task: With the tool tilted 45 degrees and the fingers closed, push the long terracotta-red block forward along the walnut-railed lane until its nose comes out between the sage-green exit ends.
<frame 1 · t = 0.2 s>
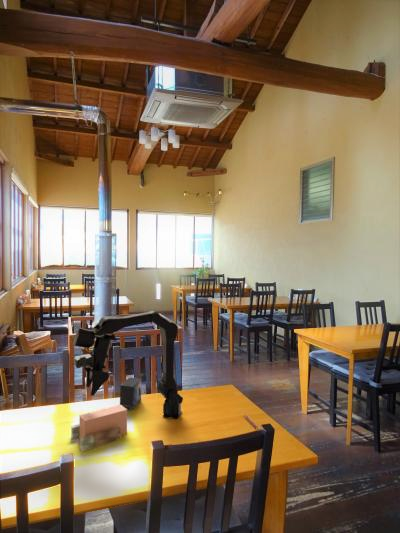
hand: (89, 391, 137), 16 cm above the table, tool pointing down, fingers open, 9 cm apart
lane: (95, 438, 133), on the table
small box: (130, 405, 163), on the table
chocolate bar: (251, 424, 147), on the table
block: (103, 436, 135), on the table
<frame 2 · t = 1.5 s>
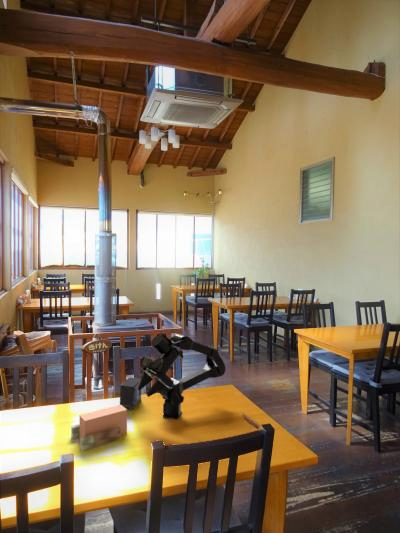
hand: (142, 392, 144), 13 cm above the table, tool tilted 45°, fingers open, 7 cm apart
nothing on the table moved.
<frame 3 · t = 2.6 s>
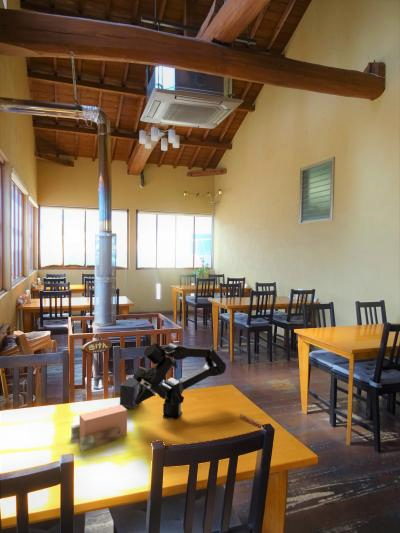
hand: (135, 403, 142), 9 cm above the table, tool tilted 45°, fingers closed
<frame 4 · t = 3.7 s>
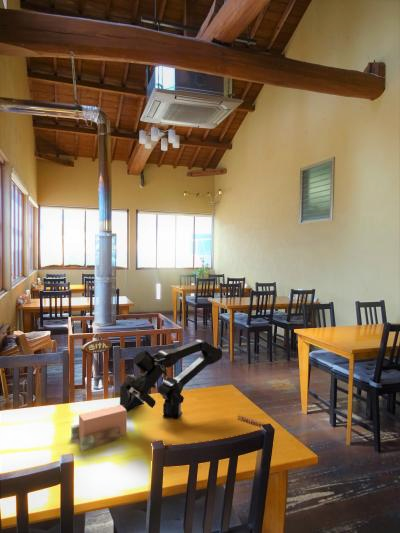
hand: (124, 412, 140), 7 cm above the table, tool tilted 45°, fingers closed, pressing on block
block: (103, 436, 135), on the table, touching gripper
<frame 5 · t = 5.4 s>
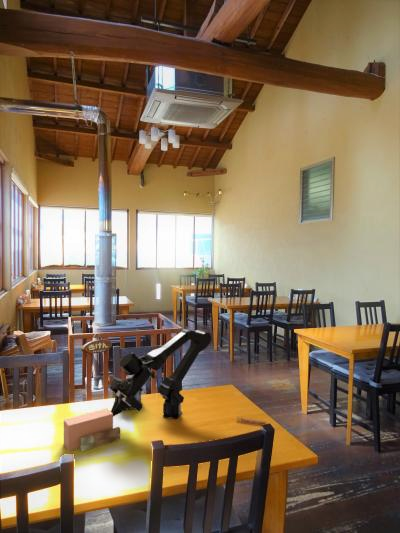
hand: (110, 416, 136), 7 cm above the table, tool tilted 45°, fingers closed
block: (88, 441, 132), on the table
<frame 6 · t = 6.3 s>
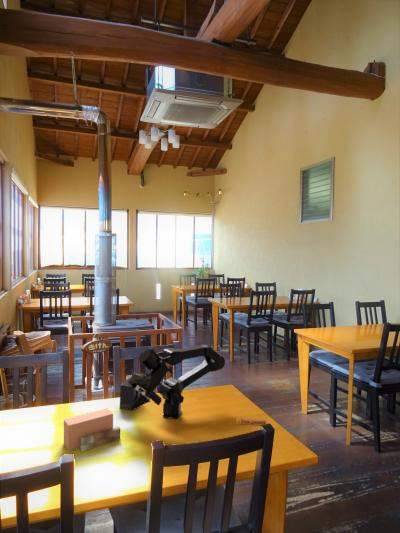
hand: (130, 410, 141), 7 cm above the table, tool tilted 45°, fingers closed
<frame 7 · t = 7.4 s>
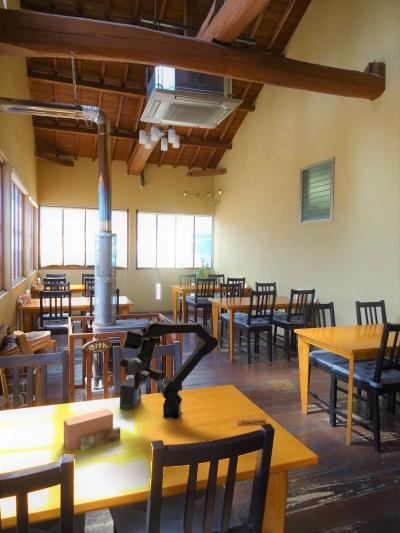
hand: (136, 389, 148), 13 cm above the table, tool tilted 15°, fingers closed
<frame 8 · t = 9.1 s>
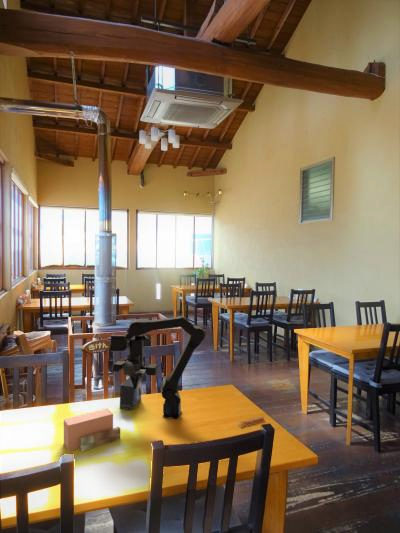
hand: (135, 388, 150), 12 cm above the table, tool pointing down, fingers closed
at the end: block inside the target area (0.8 cm from its centre), on the table; block moved 5.7 cm from its start; block tilted 0° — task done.
